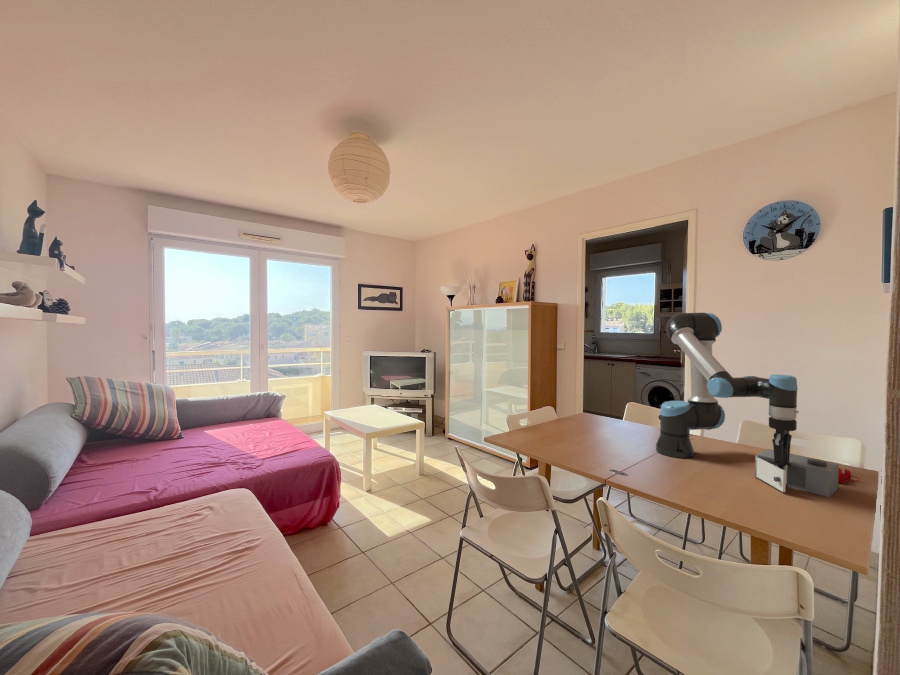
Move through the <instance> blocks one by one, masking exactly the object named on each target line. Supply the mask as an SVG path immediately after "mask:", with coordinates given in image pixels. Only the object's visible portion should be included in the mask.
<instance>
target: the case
mask: <svg viewBox="0 0 900 675" xmlns="http://www.w3.org/2000/svg"><path fill="white" fill-rule="evenodd" d="M756 455H757V456H759V458H761V459H763V460H765V461H767V462H769V463H771V464H773V462H774V449H772V448H767V449H765V450H764V451H762V452H760V453H758V454H756ZM788 463H791V464H790V465H787V484H786V487H790V488H794V489H797V490H800V491H805V492H808V493H812V494H815V495H819V496H822V497H826V498H830V497H831V496H833V494H834V493H836V491H837V490H838V489H839V483H838V473H839V468H840V467H839V466H840V465H839V463H836V462H832V461H826V460H824V459H823V460H822V459H818V458H814V457H809V456H803V455H799V454H793V453H790V457H789V462H788ZM773 465H775V466H776V464H773Z"/></svg>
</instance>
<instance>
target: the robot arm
mask: <svg viewBox="0 0 900 675" xmlns="http://www.w3.org/2000/svg"><path fill="white" fill-rule="evenodd" d="M666 322H667V323H666V326H665V331H666V335H667V337H668V339H669V340H670V341H671V342H672V343H673V344H674V345H677V346H678V347H679V348H680V349H681V351H683V353H684V354H685V355H686V356H687V358H688V359H689V360H690V364H689V366H690V388H691V389H690V392H691V394H690V395H691V396H690V397H688V399H687V401H685V400H668V401H664V402H662V404H661V406H660V411H659V414H660V425H659V426H660V428H659V429H660V430H659V431H660V432H659V437H658V438H657V442H656V444H655V451H656V452H658V453H659V454H661V455H664V456H666V457H667V456H668V457H671V458H679V459H686V458H687V459H688V458H689V459H690V458H693V457H694V456H695V449H694V447H693V443H692V441H691V438H690V432H691V431H693V430H697V431H698V430H700V431H701V430H707V431H710V430H715V429H718V428H720V427H721V426H723V424H724V422H725V421H726V420H725V418H726V413H725V410H724V408H723V407H722V406H721V404H719V400H718V399H716V398H722V399H723V398H725V399H727V398H761V399H767V400H768V415H769V417H768V427H769V428H770V429H773V430H775V433H773V439H772V446H773V450H774V462H773V464H776V466H777V467H779V468H781V469H783V470H785V471H786V484H787V465H790V464H791V463H788V462H789V457H790V454H791V444H792V443H791V442H792V438H793V436H792V435H791V434H790V432H795V431H797V424H798V422H797V420H796V419H797V415H798V414H799V413H800V411H799V410H797V407H798V404H797V400H798V398H797V397H798V389H799V388H798V381H797V380H798V379H797V377H795V376H794V375H789V374H771V375H770V376H769V378H765V377H758V376H756V375H755V376H754V375H753V376H752V375H744V376H743V377H734V376H732V375H731V374H730V373H729V371H727V370H726V369H725V367H724V366H723V365H722V364H721V363H720V361H718V360H717V358H716V357H715V356H714V355H713V344H715V342H716V341H717V340H716V338H717V337H720V334H721V333H722V330H723V327H722V326H723V325H722V322H721V320H720V318H719V317H718V316H717V315H716V314H714V313H711V312H680V313H679V312H678V313H676V314H674V315H672V316H671V317H670V318H669V319H668V321H666Z"/></svg>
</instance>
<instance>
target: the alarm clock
mask: <svg viewBox="0 0 900 675" xmlns="http://www.w3.org/2000/svg"><path fill="white" fill-rule="evenodd" d="M852 478H853V479H852ZM854 478H855V479H856V480H854ZM860 479H861V478H859V477H856V476H854V475H852V473H851V471H850V470H849V469H846V468H845V470H844V472H843V470H842V468H840V467H839V473H838V484H839V485H845V484H846V483H848V482H849V481H851V482H859V481H860Z"/></svg>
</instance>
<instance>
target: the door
mask: <svg viewBox="0 0 900 675" xmlns="http://www.w3.org/2000/svg"><path fill="white" fill-rule="evenodd" d="M757 455H758V454H755V461H754V462H755V468H754V469H755V471H754V476H755V478H756V479H759V480H761V481H763V482H765V483H767V484H768V485H770V486H772V487H773V488H775V489H777V490H779V491H780V492H782V493H786V488H787V486H786V471H785V470H783V469H781V468H779V467H777V466H775V465H773V464H771V463H769V462H767V461H765V460H763V459H761V458H759V456H757Z"/></svg>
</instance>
